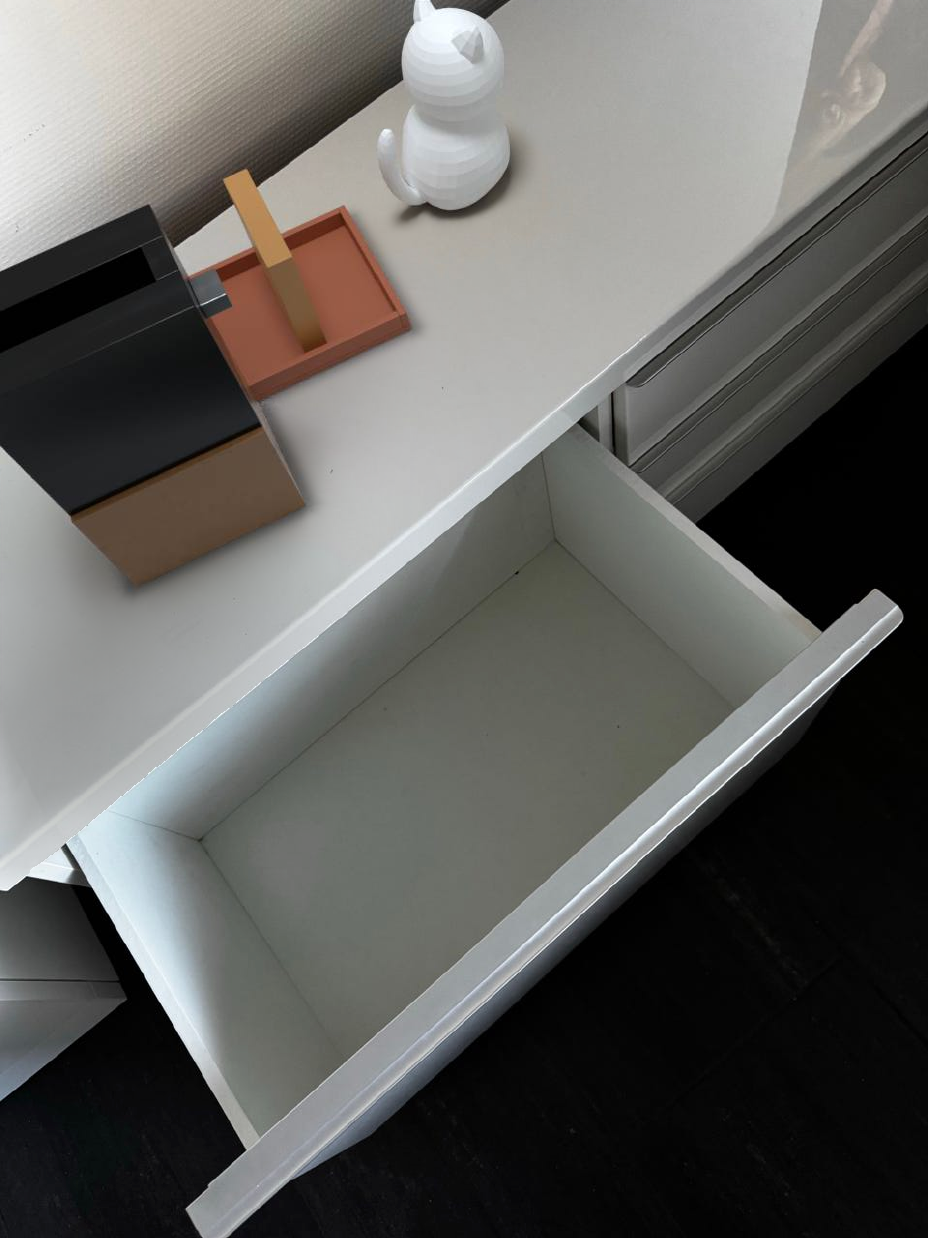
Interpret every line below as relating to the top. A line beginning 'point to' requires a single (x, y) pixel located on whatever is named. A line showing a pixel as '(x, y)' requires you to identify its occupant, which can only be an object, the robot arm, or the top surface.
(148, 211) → the toaster
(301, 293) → the toast
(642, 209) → the top surface
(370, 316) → the tray
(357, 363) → the top surface
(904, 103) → the top surface
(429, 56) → the cat figurine
